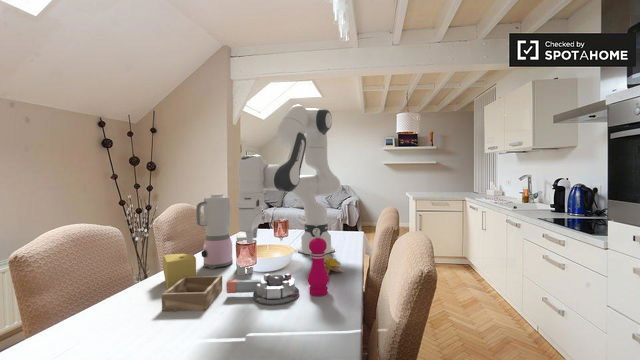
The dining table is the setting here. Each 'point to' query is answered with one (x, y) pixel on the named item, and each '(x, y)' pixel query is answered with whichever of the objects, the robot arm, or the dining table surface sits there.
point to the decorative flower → (331, 264)
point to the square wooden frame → (192, 293)
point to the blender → (216, 230)
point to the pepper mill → (318, 267)
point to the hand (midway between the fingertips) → (252, 240)
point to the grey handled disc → (263, 287)
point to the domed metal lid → (276, 281)
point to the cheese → (178, 267)
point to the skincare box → (239, 269)
